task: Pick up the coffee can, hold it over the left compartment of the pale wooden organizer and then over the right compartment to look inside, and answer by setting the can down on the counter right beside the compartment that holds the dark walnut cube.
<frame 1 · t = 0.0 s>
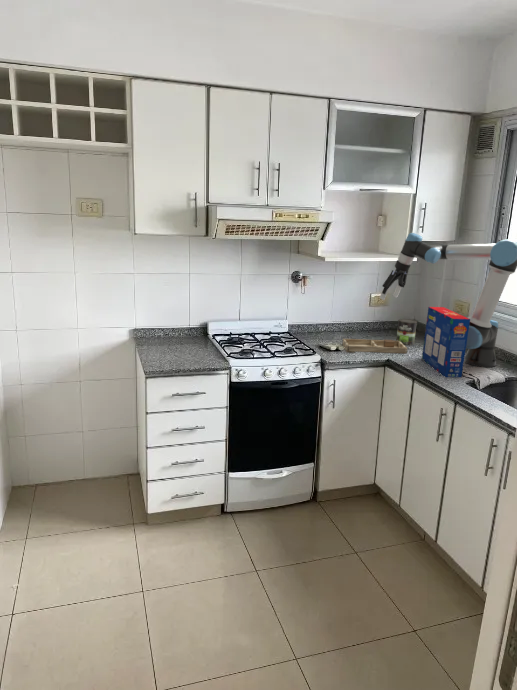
hand: (388, 297, 283), 28 cm above the worktop, tool tilted 20°, fingers open, 13 cm apart
walnut cube: (388, 348, 284), point 1 cm above the worktop, touching wooden organizer
coffee can: (404, 344, 298), on the worktop
wooden organizer: (373, 349, 284), on the worktop
blue cardboard box: (440, 368, 256), on the worktop
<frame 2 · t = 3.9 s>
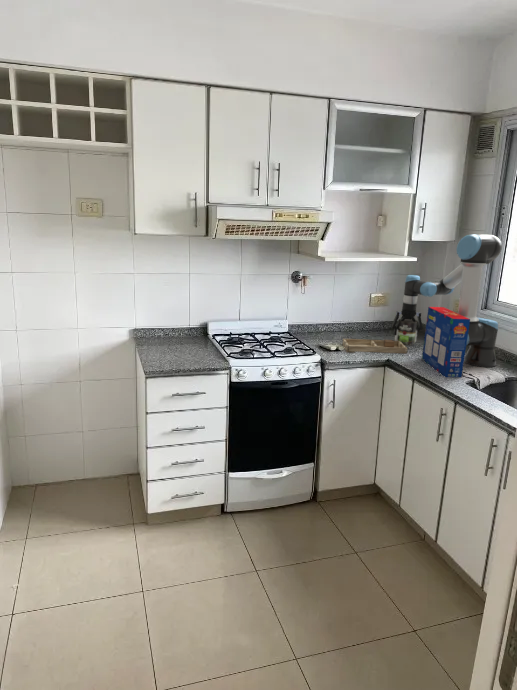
hand: (405, 341, 297), 2 cm above the worktop, tool pointing down, fingers closed on coffee can, 10 cm apart
coffee can: (404, 344, 298), on the worktop, touching gripper
everything else where it was.
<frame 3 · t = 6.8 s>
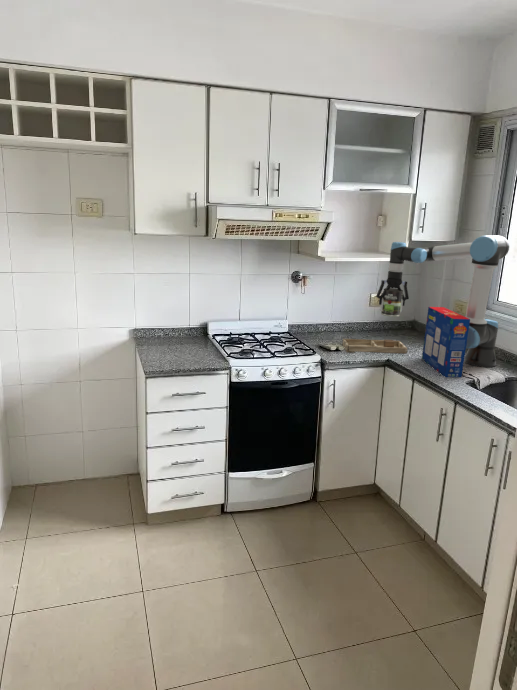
hand: (390, 311, 287), 20 cm above the worktop, tool pointing down, fingers closed on coffee can, 10 cm apart
coffee can: (390, 315, 288), point 18 cm above the worktop, touching gripper
everything else where it was.
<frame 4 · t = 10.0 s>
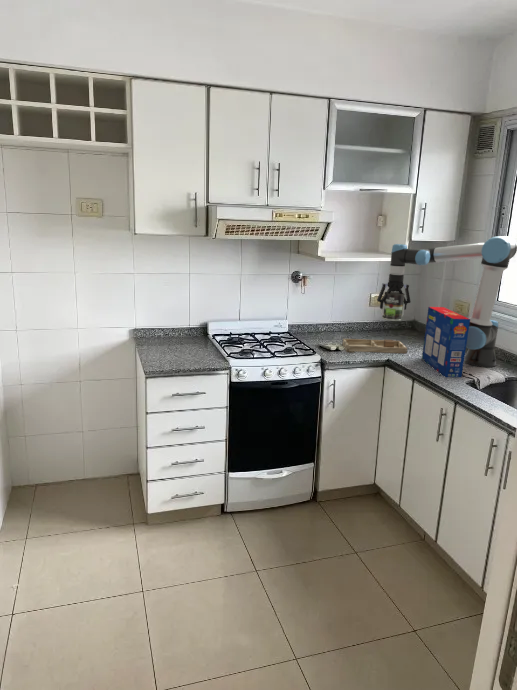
hand: (392, 315, 279), 20 cm above the worktop, tool pointing down, fingers closed on coffee can, 10 cm apart
coffee can: (391, 319, 280), point 17 cm above the worktop, touching gripper
everything else where it was.
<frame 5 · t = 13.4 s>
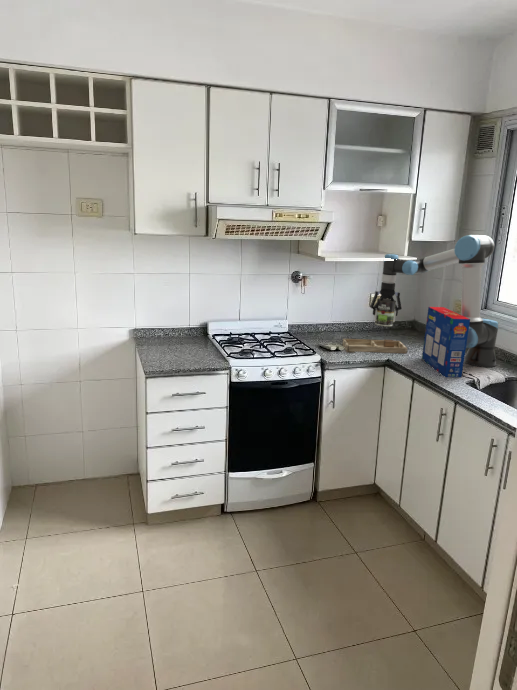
hand: (384, 321, 295), 13 cm above the worktop, tool pointing down, fingers closed on coffee can, 10 cm apart
coffee can: (383, 324, 296), point 11 cm above the worktop, touching gripper
everything else where it was.
when the fingers open (3 cm above the worktop, at t = 16.5 s): coffee can drops 1 cm, on the worktop.
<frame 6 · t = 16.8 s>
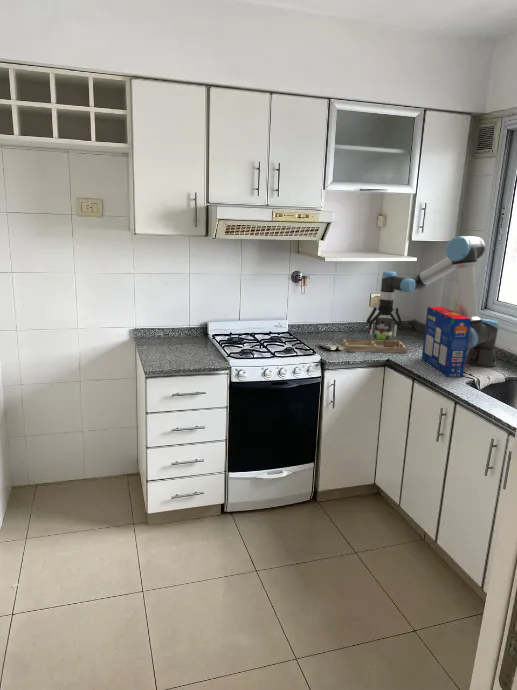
hand: (382, 335, 298), 4 cm above the worktop, tool pointing down, fingers open, 13 cm apart
coffee can: (382, 343, 299), on the worktop
everything else where it was.
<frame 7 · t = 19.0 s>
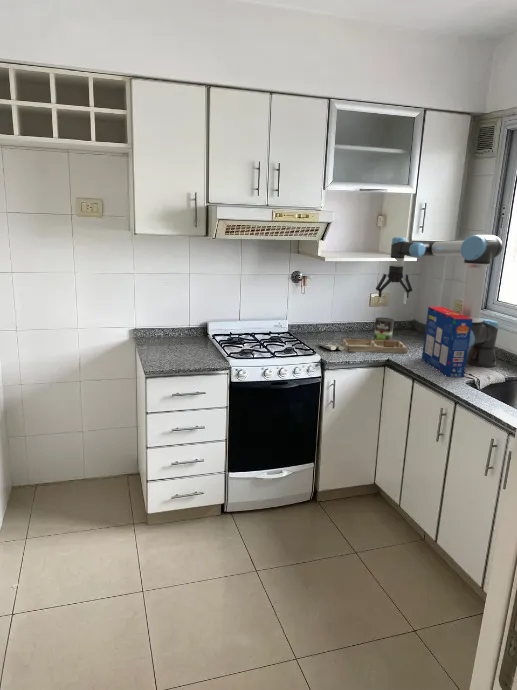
hand: (392, 303, 293), 23 cm above the worktop, tool pointing down, fingers open, 13 cm apart
nothing on the worktop moved.
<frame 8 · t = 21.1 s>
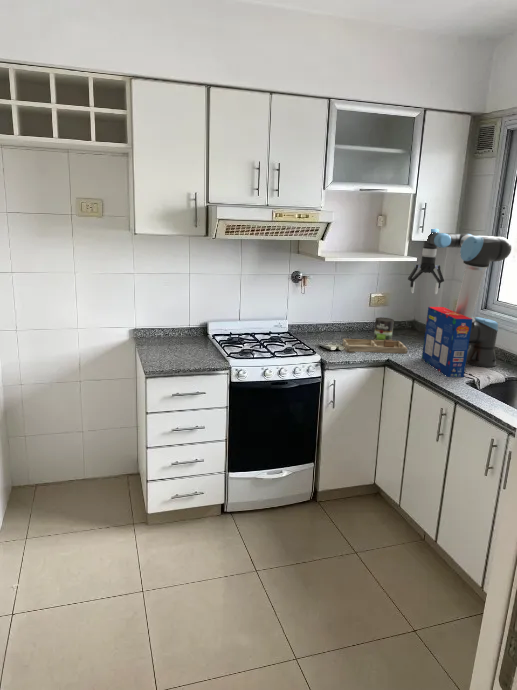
hand: (424, 293, 298), 29 cm above the worktop, tool pointing down, fingers open, 13 cm apart
nothing on the worktop moved.
at the end: coffee can inside the target area on the worktop beside the wooden organizer (1.1 cm from its centre), on the worktop; coffee can tilted 0°; walnut cube moved 0.0 cm from its start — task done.
